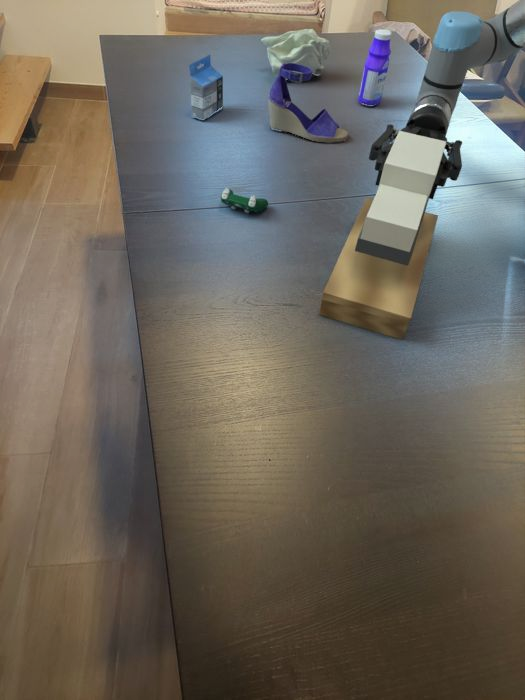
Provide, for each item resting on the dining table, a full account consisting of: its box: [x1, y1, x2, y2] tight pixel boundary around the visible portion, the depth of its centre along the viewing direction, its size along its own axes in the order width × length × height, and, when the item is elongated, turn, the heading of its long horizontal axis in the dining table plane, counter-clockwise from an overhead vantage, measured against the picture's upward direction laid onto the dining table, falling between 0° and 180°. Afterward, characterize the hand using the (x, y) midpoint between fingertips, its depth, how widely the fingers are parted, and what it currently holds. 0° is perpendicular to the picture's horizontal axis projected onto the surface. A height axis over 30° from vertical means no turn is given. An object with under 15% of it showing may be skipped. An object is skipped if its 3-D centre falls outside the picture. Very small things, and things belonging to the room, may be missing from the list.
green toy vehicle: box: [220, 187, 269, 214], centre depth 101 cm, size 9×4×6 cm
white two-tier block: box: [355, 130, 446, 266], centre depth 82 cm, size 8×22×10 cm, turn 159°
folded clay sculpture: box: [260, 28, 332, 79], centre depth 144 cm, size 18×13×16 cm
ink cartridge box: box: [188, 54, 224, 119], centre depth 125 cm, size 9×4×12 cm, turn 150°
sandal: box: [268, 63, 349, 144], centre depth 120 cm, size 8×20×15 cm, turn 71°
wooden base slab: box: [318, 196, 439, 341], centre depth 90 cm, size 14×30×5 cm, turn 159°
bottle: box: [357, 28, 393, 105], centre depth 133 cm, size 7×6×17 cm
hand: (406, 184), depth 82 cm, fingers closed on white two-tier block, 8 cm apart
